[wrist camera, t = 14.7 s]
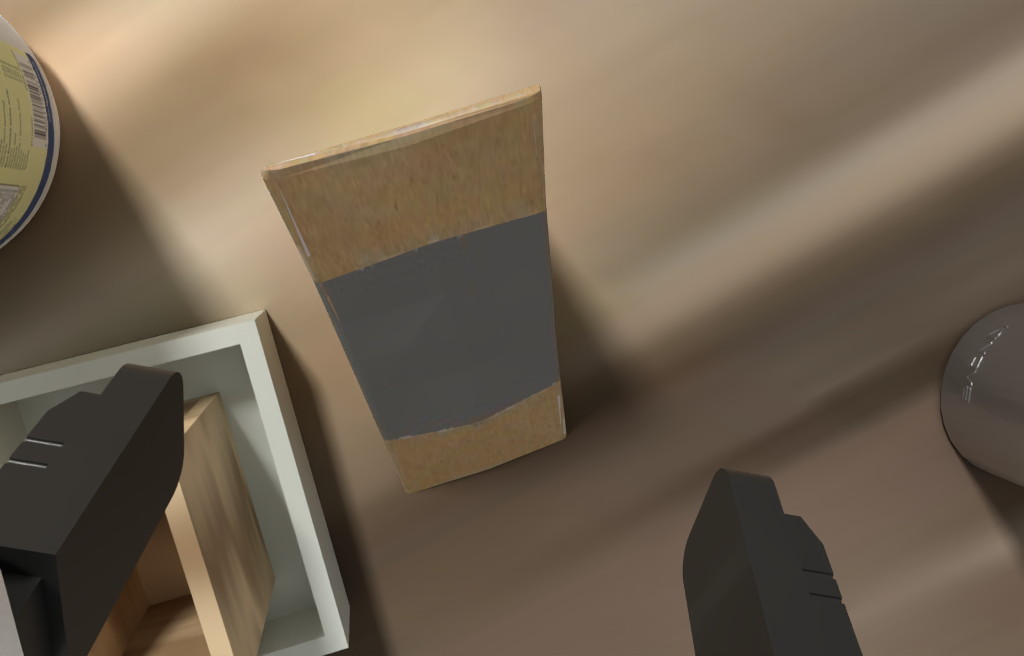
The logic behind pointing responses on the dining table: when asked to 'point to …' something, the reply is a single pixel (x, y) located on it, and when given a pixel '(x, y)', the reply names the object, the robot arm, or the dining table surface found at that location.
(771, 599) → the robot arm
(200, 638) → the oak crate
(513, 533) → the dining table surface
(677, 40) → the dining table surface
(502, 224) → the sandwich container
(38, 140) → the supplement tub
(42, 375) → the grey crate
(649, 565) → the dining table surface
